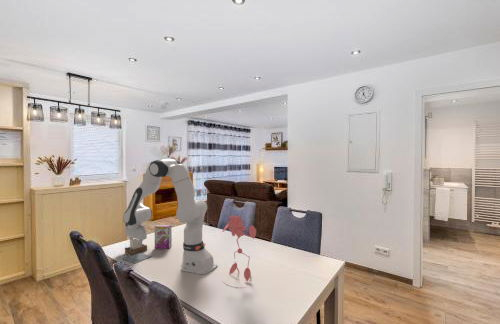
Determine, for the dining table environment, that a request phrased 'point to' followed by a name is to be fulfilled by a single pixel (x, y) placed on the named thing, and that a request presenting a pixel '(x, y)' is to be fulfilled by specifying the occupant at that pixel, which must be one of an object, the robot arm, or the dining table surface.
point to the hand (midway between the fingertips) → (136, 243)
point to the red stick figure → (237, 229)
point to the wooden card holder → (135, 250)
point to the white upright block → (134, 244)
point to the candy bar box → (163, 236)
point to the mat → (136, 257)
